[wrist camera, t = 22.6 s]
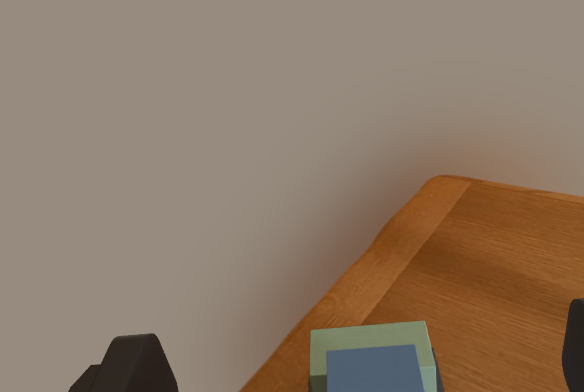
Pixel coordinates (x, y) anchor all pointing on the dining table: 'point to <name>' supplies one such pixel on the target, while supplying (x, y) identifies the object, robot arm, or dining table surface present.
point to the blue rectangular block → (374, 370)
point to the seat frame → (373, 338)
